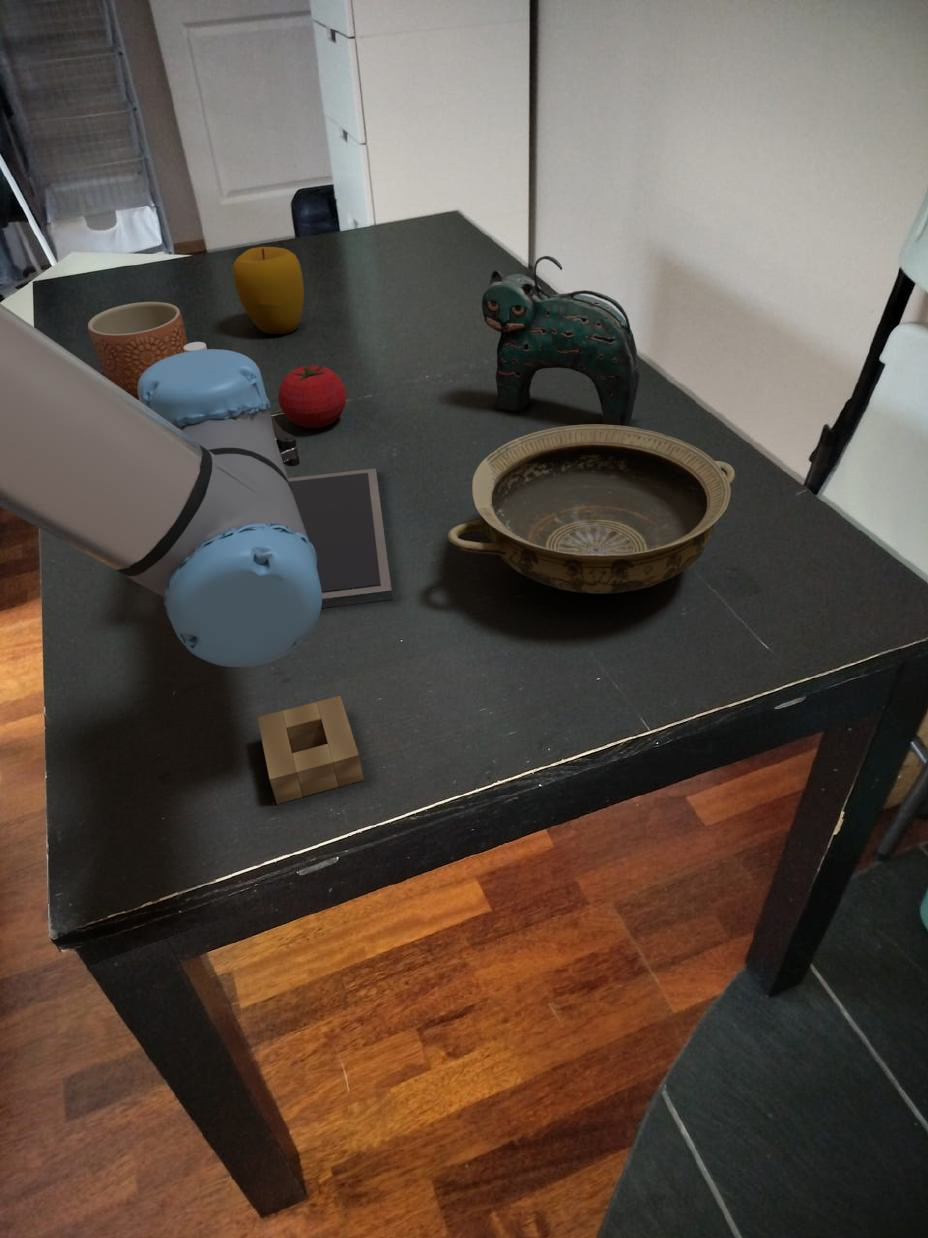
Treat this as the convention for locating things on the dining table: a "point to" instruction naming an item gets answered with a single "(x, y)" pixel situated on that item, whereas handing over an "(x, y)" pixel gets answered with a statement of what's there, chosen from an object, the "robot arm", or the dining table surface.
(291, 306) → the apple
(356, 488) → the tablet
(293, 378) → the tomato
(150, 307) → the planter
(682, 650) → the dining table surface
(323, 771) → the holder
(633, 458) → the ceramic bowl
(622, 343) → the ceramic cat
